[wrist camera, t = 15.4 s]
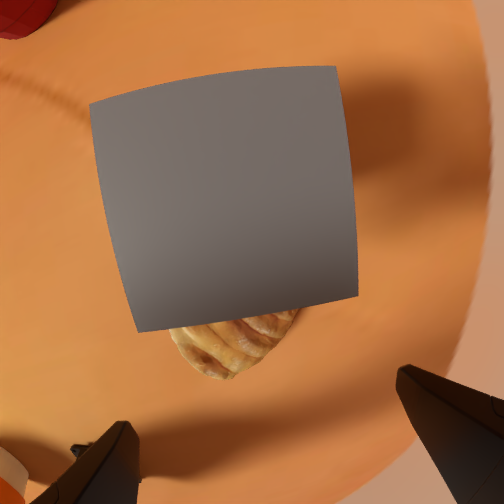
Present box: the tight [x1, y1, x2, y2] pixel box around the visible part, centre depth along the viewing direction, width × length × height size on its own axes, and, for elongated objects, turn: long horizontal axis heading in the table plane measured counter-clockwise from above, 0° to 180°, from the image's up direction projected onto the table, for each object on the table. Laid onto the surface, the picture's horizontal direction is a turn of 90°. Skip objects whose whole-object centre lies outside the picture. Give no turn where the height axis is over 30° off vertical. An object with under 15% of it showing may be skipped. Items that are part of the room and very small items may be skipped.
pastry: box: [169, 309, 298, 380], centre depth 19 cm, size 9×7×4 cm
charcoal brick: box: [89, 66, 358, 333], centre depth 8 cm, size 5×5×4 cm
